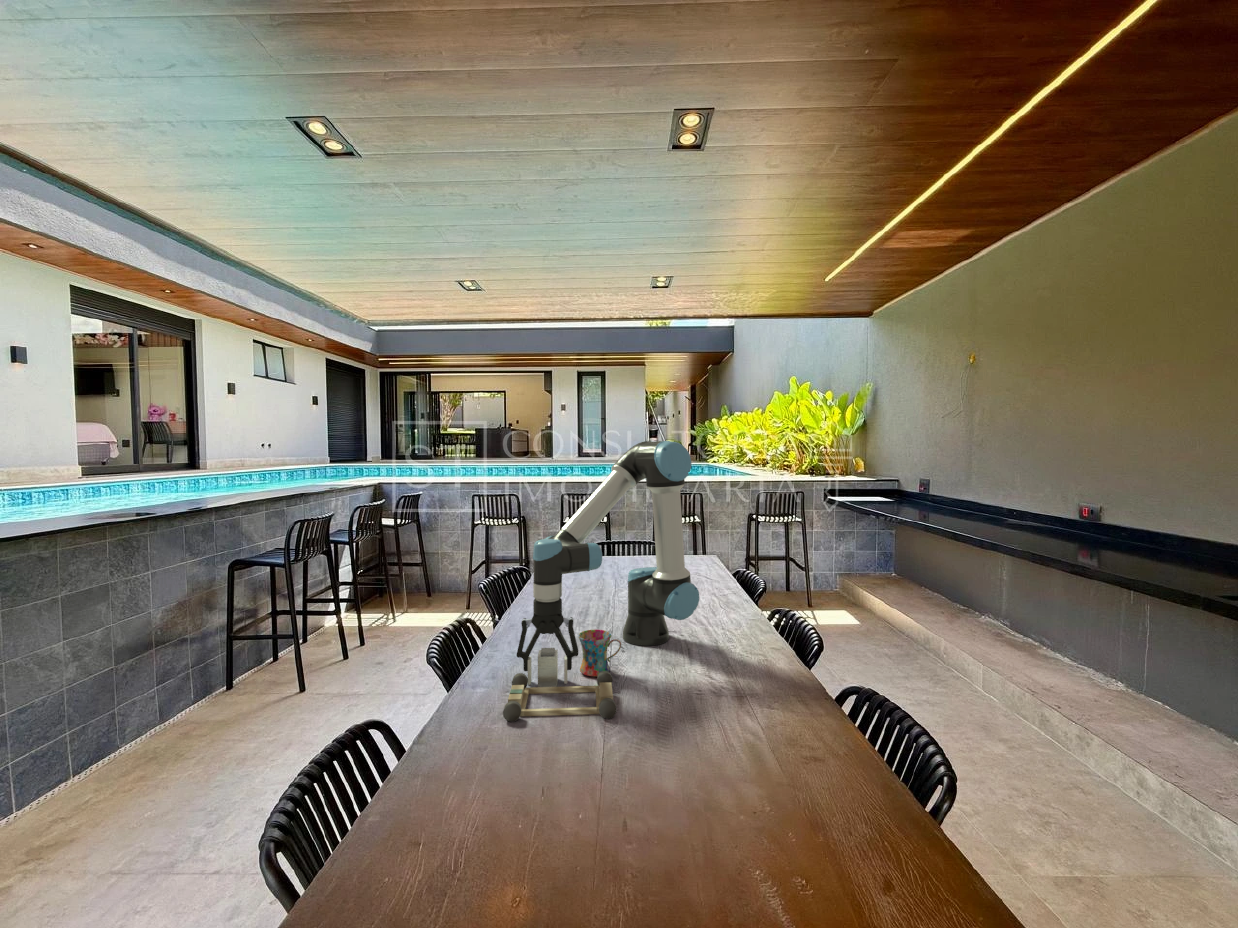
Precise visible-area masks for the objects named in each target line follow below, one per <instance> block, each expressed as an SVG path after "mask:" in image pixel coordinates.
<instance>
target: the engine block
mask: <svg viewBox="0 0 1238 928" xmlns="http://www.w3.org/2000/svg"><path fill="white" fill-rule="evenodd" d="M558 653H559V651H558V649H556V647H541V648H540V649H539V650H538V654H537V687H558V680H559V673H558V671H559V670H558V669H559V666H558V665H559V661H558V659H559V657H558V655H559V654H558Z"/></svg>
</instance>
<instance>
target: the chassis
mask: <svg viewBox="0 0 1238 928" xmlns="http://www.w3.org/2000/svg"><path fill="white" fill-rule="evenodd" d="M596 677H597V678H596V681H597V682H596V683H597V685H580V686H579V685H576V686H575V685H572V686H568V685H567V686H566V685H565V686H557V687H538V686H536V687H535V686H534V687H532V686H531V687H528V675H526V674H525V673H521V672H517V673H516V674H514V676H513V677H512V680H511V688H510V691H509V695H508V698H507V702H506V703H505V705H504V708H503V711H502V717H503V718H504V720H505V721H507V722H510V723H515V722H516V721H518V719H520V717H542V716H543V717H544V716H574V715H575V716H576V715H577V716H578V715H600V717H602V718H603V719H605V720H606V719H607V720H608V719H612V718H614V717H615V715H616V713H617V705H616V702H615V700H614V694H613V683H614V682H613V675H612V674H611V672H610V671H609V672H608V671H602V672H600V673H599V674H598V676H596ZM567 693H574V694H575V693H595V706H591V707H590V706H589V707H587V706H585V707H555V708H526V707H527V704H528V699H529V695H530V694H532V695H533V694H534V695H536V694H537V695H538V694H567Z"/></svg>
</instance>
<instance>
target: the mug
mask: <svg viewBox="0 0 1238 928" xmlns="http://www.w3.org/2000/svg"><path fill="white" fill-rule="evenodd" d="M577 637H578V640H579V642H580V645H581V649H582V660H581V664H580V667H579V672H580V673H581V674H583V675H584V676H588V677H597V676H598V674H599V673H600V672H602V671H608V672H609V673H610V671H611V668H610V666H609V665H610V664H609V663H611V660H610V659H612V658H614V657H615V656H616V655H617V654H618V653H619V652H620V650H621V649H622V648H621V646H622V642H621V640H619V639H616V638H613V639H612V633H611V632H609V631H608V630H605V629H587V630H583V631H581V632H579V634H577ZM613 642H618V643H619V647H618V649H617V650H616V651H615V653H613V654H611V655H610V656H608V648H609V647H610V645H611V644H612V643H613Z"/></svg>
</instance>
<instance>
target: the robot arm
mask: <svg viewBox="0 0 1238 928" xmlns="http://www.w3.org/2000/svg"><path fill="white" fill-rule="evenodd" d="M691 469H692V458H691V455H690V452H689V451H688V449H687V448H686V447H685V446H684V445H683V444H682V443H679V442H678V441H671V440H660V441H659V440H657V441H655V440H654V441H649V440H646V441H641V442H639V443H637V444H635V445H633V446H631V447H630V448H629V449H628V450H626V452H624V453H623V454H622V455H621V456H620V458H618V459H617V460H616V461H615V463H614V464H613V465H612V466H611V469H610V470H611V472H610V473H609V474H608V475H607V477H606V478H605V479H604V480H603V481H602V482H601V483H600V484H599V486H598V487H597V488H596V489H595V490H594V491H593V492H592V493H591V494H590V496H589V497H588V498H587V499H586V500H585V502H584V503H582V505H581V506H580V507H579V508H578V509H577V510H576V512H575V513H574V514H573V515H572V516H571V517H570V518H569V519H568V520H567V522H565V524H564V525H563V526H562V527H561V528H560V529H559V531H557V532H556V534H555V535H549V536H547V537H545V538H542V539H539V540H536V541H535V542H534V545H533V551H532V553H533V554H532V561H533V582H532V583H533V584H532V587H533V588H532V589H533V590H532V592H533V598H534V599H533V605H532V606H533V610H532V611H533V616H532V617H531V618H526V617H523V618H522V620H521V623H520V624H521V633H520V637H519V641H518V646H517V647H518V648H517V651H516V657H517V658H521V659H522V660H523V671H524V672H527V678H528V683H527V686H529V685H531V684H532V656H530V655H531V653H532V651H533V649H534V647H535V644H536V643H537V641H538V639H539V637H540V636H541V635H546V634H548V635H555V638H556V639H557V640H558V643H559V645H560V646H561V649H562V650H563V652H564V654H565V655H564V657H563V659H564V661H563V663H564V665H563V666H564V670H563V672H564V673H563V674H564V676H563V677H564V678H563V679H564V681H563V683H564V685H565V684H566V685H567V684H568V671H571V670H572V669H573V668H572V667H573V662H572V660H573V658H574V657H578V656H579V647H578V643H577V639H576V634H575V630H574V617H573V616H572V617H571V616H570V617H564V615H563V600H562V595H563V575H566V574H574V573H581V572H590V571H594V570H597V569H599V568H600V567H601V566H602V563H603V552H602V549H601V547H600V545H599V544H597V543H596V542H586V543H585V542H584V541H585V540H586V539H587V537H589V535H590V534H592V532H593V531H594V529H595V528H597V526H598V525H599V523H601V521H602V520H603V519H604V518H605V517H606V515H607V514H608V513H610V511H611V510H612V509H613V507H614V506H616V504H617V503H618V502H619V501H620V500H621V498H622V497H624V495H625V494H626V493H627V491H628V490H630V488H632V489H633V488H635V487H636V486H637V485H638V484H639V483H640V482H641V481H643V480H645V484H646V486H645V487H646V488H647V489H648V490H649V491H650V492H651V498H652V511H653V512H652V514H653V515H652V516H653V532H654V543H655V545H654V546H655V559H656V560H655V561H656V563H655V564H656V566H651V567H640V568H639V567H638V568H634V569H631V570H630V571H629V572H628V574H627V576H628V577H627V617H626V619H625V624H624V626H623V630H622V639H623V641H624V642H626V643H628V644H632V645H635V646H644V647H645V646H649V647H650V646H659V645H662V644H664V643H667V642H668V641H669V637H670V635H669V634H670V631H669V628H668V625H667V622H666V618H665V617H667V618H668V619H672V620H677V621H683V620H686V619H688V618H690V617H691V616H692V615H693V614H694V613H695V611H696V610H697V608H698V605H699V602H700V591H699V589H698V587H696V585H695V584H694V583H692V579H691V571H689V569H687V568H686V564H685V563H686V562H685V552H684V551H685V550H684V549H685V548H684V532H683V517H682V516H683V515H682V500H681V499H682V498H681V489H682V488H683V487H685V484H686V482H685V479H686V478H687V477H688V476H689V475H690V474H689V473H690V472H691V471H692V470H691ZM583 542H584V543H583ZM531 624H532V625H533V627H534V628H535V632H534V634H533V636H532V638H531V640H530V642H529V644H528V645H527V647H526V649H525V651H523V648H524V645H525V641H526V637H527V632H528V628H530V626H531ZM563 624H565V627H566V628H567V629H568V635H569V639H570V644H571V648H572V650H571V649H570V647H569V644H568V643H567V640H566V639H565V637H564V635H563V633H562V630H561V626H562V625H563Z"/></svg>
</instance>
